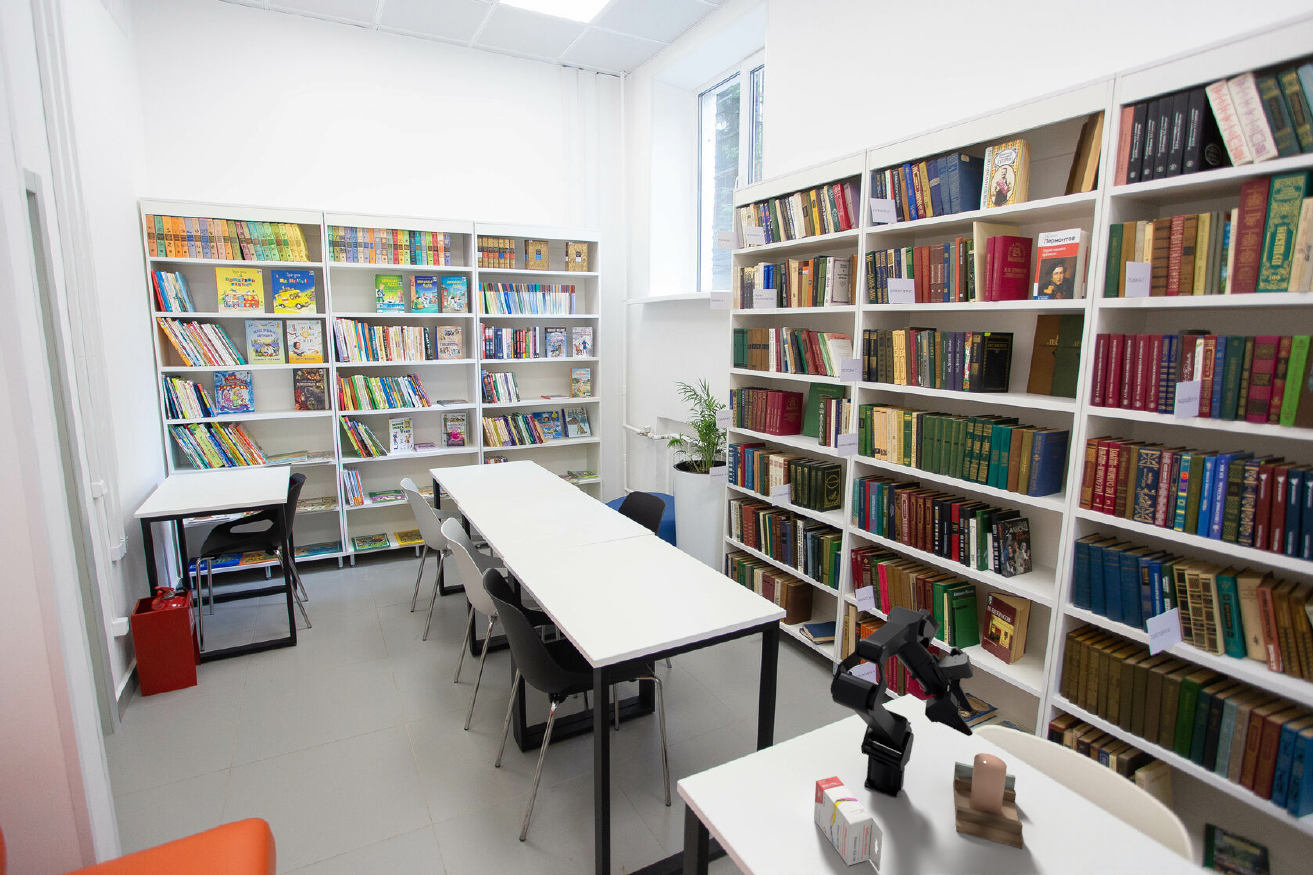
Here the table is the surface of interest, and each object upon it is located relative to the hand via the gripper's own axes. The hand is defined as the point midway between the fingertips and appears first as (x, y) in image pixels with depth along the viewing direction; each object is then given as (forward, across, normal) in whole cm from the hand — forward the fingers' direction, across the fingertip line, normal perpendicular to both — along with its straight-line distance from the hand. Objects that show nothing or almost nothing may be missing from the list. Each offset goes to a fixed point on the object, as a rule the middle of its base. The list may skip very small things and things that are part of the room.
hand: (971, 722), depth 135 cm
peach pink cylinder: (+11, -9, +6) cm, 15 cm away
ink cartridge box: (-11, -24, +24) cm, 36 cm away
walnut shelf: (+12, -9, +7) cm, 16 cm away
